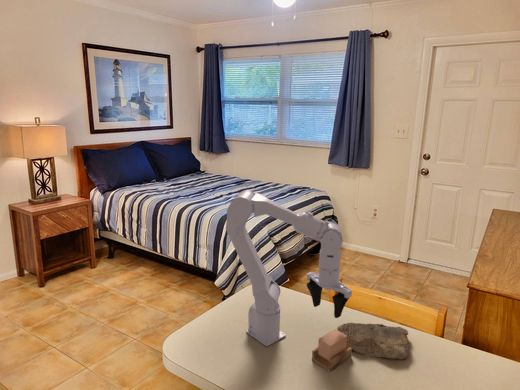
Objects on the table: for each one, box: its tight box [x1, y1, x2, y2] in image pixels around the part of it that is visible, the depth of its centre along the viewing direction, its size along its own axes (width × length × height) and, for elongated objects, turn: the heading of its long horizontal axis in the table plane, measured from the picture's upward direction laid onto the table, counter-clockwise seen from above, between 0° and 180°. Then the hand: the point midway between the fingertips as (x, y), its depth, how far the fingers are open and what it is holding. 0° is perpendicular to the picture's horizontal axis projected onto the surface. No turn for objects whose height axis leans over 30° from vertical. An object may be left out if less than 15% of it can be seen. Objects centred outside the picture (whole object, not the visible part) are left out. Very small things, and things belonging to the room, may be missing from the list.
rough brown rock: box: [336, 322, 409, 360], centre depth 110 cm, size 14×5×20 cm
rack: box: [311, 347, 353, 372], centre depth 103 cm, size 9×6×3 cm
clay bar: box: [317, 328, 347, 361], centre depth 102 cm, size 7×4×4 cm, turn 130°
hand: (326, 310), depth 108 cm, fingers open, 7 cm apart
